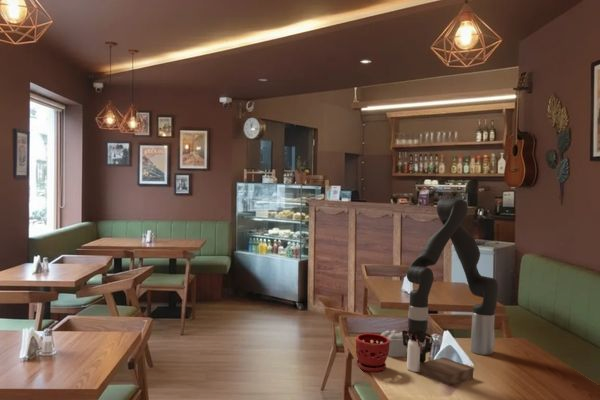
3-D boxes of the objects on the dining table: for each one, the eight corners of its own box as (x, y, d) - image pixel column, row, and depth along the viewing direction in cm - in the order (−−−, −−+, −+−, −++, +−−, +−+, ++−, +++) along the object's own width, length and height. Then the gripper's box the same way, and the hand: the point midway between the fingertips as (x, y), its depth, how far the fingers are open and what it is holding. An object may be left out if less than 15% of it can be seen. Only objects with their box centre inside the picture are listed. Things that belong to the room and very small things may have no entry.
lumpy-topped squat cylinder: (385, 357, 223) (386, 336, 222) (376, 347, 235) (377, 327, 235) (409, 356, 224) (410, 336, 224) (398, 347, 237) (399, 327, 237)
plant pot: (350, 370, 205) (351, 339, 205) (361, 360, 217) (362, 331, 217) (382, 376, 200) (384, 345, 199) (392, 366, 212) (393, 336, 211)
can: (423, 373, 205) (425, 342, 204) (406, 371, 206) (408, 340, 206) (423, 367, 211) (424, 337, 211) (406, 365, 213) (408, 336, 212)
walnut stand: (443, 367, 213) (443, 357, 213) (472, 378, 201) (473, 367, 201) (419, 373, 204) (419, 363, 204) (449, 385, 193) (449, 374, 193)
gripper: (439, 320, 204) (437, 363, 205) (410, 312, 216) (408, 353, 216) (426, 322, 200) (424, 367, 200) (397, 314, 211) (395, 356, 212)
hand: (416, 359), depth 208 cm, fingers closed on can, 5 cm apart
